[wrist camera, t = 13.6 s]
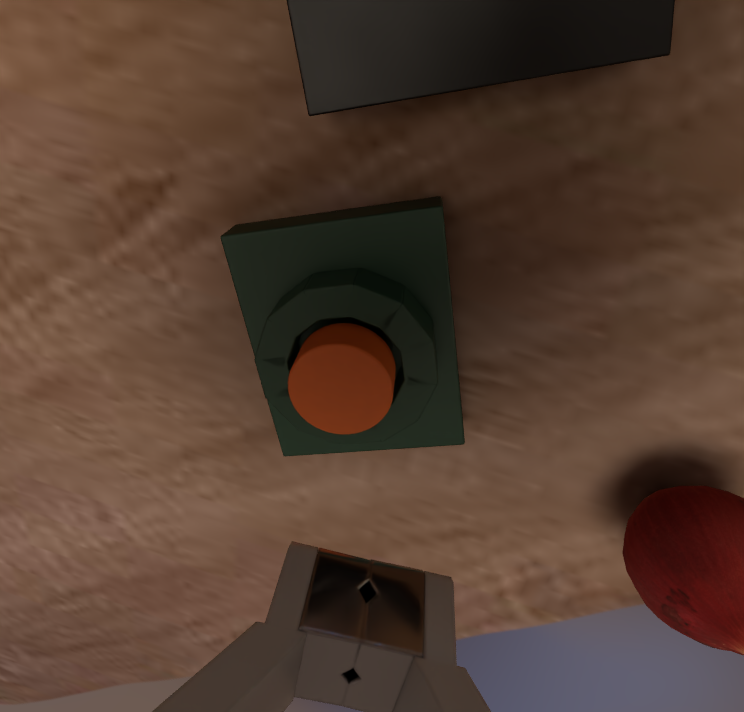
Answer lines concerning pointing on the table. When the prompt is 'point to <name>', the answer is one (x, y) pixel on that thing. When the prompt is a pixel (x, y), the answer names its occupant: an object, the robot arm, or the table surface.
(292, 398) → the button
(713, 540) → the red oval fruit
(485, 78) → the panel
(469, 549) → the table surface
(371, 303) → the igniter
